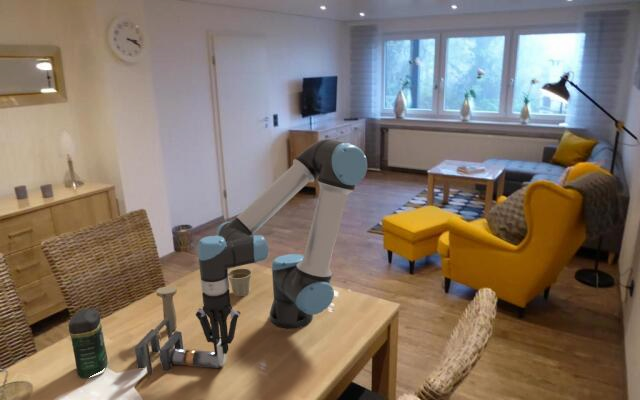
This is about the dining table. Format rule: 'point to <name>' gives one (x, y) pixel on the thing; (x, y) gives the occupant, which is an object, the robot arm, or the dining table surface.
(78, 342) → the coffee jar
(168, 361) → the dark grey arch
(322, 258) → the robot arm
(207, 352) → the tube
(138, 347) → the collar
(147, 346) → the frame
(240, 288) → the flower pot
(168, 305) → the handle
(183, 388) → the dining table surface
